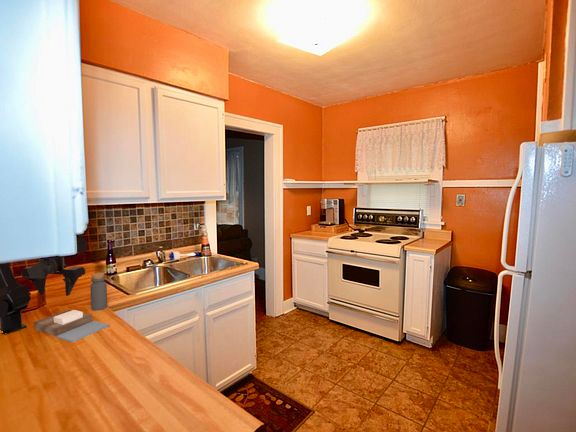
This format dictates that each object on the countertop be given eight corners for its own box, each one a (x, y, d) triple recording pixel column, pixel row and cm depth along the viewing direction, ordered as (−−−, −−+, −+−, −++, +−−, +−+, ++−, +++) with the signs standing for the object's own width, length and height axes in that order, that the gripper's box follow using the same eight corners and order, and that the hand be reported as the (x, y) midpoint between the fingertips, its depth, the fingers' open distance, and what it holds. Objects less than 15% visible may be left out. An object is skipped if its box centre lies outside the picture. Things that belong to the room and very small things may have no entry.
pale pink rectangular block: (53, 322, 106) (53, 317, 106) (74, 314, 113) (73, 309, 112) (62, 324, 104) (62, 319, 104) (82, 317, 111) (82, 311, 111)
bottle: (110, 305, 129) (109, 272, 128) (98, 311, 124) (97, 276, 122) (100, 304, 131) (98, 271, 130) (88, 309, 125) (86, 275, 124)
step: (34, 329, 107) (34, 321, 106) (69, 316, 118) (69, 309, 117) (58, 336, 102) (57, 328, 101) (92, 322, 113) (92, 315, 112)
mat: (56, 337, 101) (56, 335, 101) (94, 322, 113) (93, 320, 113) (72, 342, 98) (72, 340, 98) (109, 326, 110) (109, 324, 110)
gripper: (5, 256, 96) (7, 302, 97) (62, 258, 96) (64, 304, 97) (34, 249, 107) (36, 291, 108) (85, 251, 107) (86, 293, 108)
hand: (54, 295), depth 105 cm, fingers open, 9 cm apart
